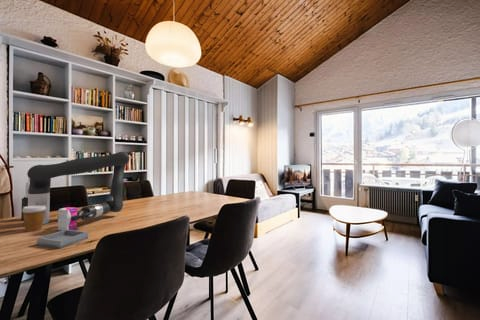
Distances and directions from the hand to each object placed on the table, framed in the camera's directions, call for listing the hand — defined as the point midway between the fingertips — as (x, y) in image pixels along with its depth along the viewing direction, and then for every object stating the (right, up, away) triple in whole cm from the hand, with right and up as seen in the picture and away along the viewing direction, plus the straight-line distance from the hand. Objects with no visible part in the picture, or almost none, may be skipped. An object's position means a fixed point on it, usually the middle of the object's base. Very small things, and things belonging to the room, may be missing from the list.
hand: (64, 218), depth 118 cm
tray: (+11, -7, -14) cm, 19 cm away
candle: (-37, -6, +19) cm, 42 cm away
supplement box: (0, -7, +2) cm, 7 cm away
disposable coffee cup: (-17, -6, +1) cm, 18 cm away
